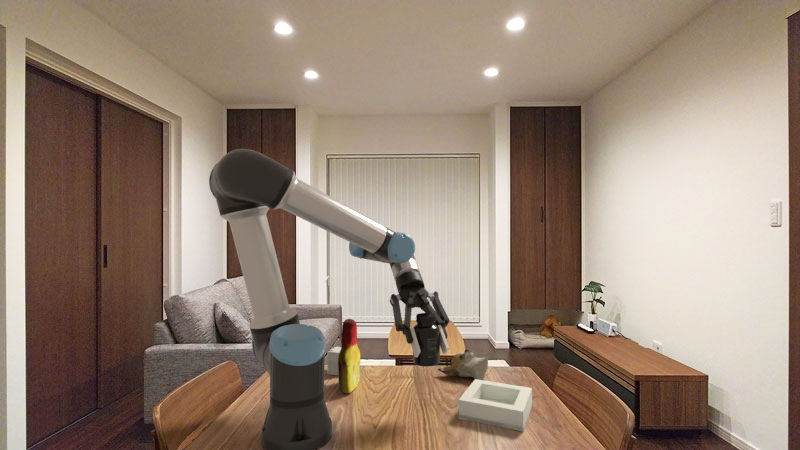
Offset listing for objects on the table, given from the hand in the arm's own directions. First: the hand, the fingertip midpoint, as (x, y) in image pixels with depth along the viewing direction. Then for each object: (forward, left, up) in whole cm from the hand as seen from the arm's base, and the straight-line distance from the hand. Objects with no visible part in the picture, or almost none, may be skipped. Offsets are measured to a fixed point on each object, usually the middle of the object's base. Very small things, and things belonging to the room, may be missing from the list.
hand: (432, 352), depth 95 cm
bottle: (-29, +7, -16) cm, 34 cm away
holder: (+13, +10, -16) cm, 23 cm away
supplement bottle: (-3, +2, -4) cm, 5 cm away
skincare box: (-39, +17, -16) cm, 45 cm away
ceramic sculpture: (-1, +31, -16) cm, 35 cm away
